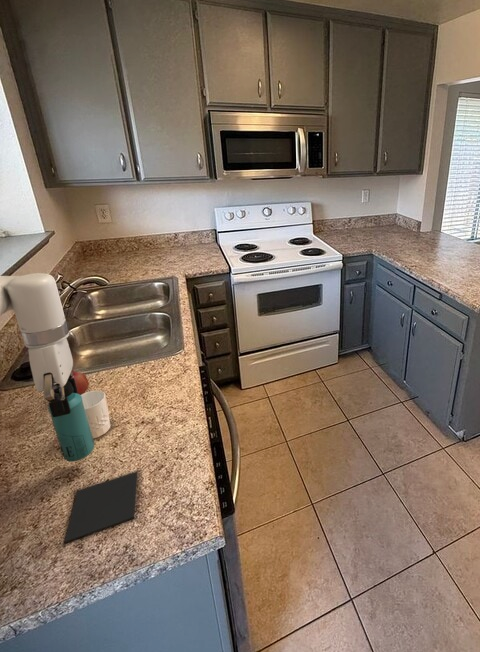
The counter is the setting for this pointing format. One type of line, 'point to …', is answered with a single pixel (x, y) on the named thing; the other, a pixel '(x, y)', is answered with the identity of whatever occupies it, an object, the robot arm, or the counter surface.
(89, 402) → the white cup
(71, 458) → the beverage bottle
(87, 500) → the corner mat
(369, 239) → the counter surface
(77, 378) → the fruit
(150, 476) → the counter surface
